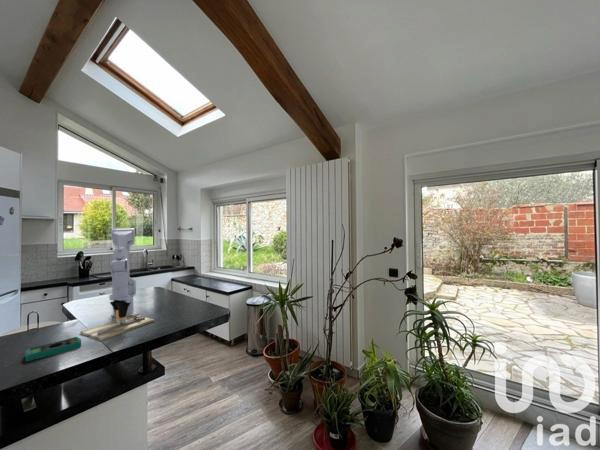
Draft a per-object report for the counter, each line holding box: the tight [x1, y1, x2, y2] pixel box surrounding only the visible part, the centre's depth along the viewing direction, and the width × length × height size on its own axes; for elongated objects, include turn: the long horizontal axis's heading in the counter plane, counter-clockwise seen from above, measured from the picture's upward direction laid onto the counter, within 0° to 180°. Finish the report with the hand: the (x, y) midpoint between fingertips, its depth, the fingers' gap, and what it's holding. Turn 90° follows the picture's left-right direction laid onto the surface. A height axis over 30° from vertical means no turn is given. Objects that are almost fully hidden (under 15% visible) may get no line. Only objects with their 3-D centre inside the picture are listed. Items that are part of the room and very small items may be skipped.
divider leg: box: [115, 310, 129, 324], centre depth 118 cm, size 6×3×7 cm, turn 62°
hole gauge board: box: [79, 312, 155, 342], centre depth 118 cm, size 16×22×4 cm
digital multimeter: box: [24, 336, 82, 362], centre depth 96 cm, size 7×15×3 cm, turn 136°
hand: (121, 316), depth 119 cm, fingers closed on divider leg, 2 cm apart
